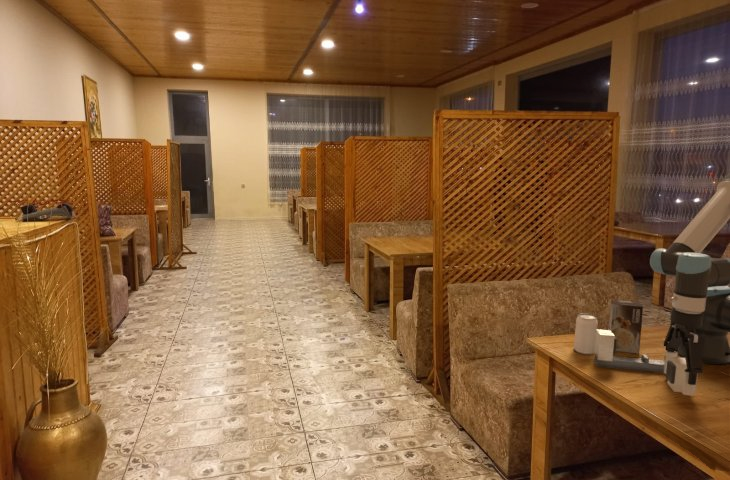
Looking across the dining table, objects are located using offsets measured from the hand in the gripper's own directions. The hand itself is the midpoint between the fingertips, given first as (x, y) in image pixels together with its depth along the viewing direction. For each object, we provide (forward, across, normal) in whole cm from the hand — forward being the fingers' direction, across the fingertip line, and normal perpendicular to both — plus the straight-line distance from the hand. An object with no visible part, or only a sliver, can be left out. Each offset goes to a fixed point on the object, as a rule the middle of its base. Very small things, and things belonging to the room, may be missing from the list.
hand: (678, 383), depth 140 cm
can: (+2, -23, -20) cm, 31 cm away
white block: (+1, 0, 0) cm, 1 cm away
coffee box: (+1, -28, -7) cm, 29 cm away
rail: (+1, -12, -9) cm, 15 cm away
